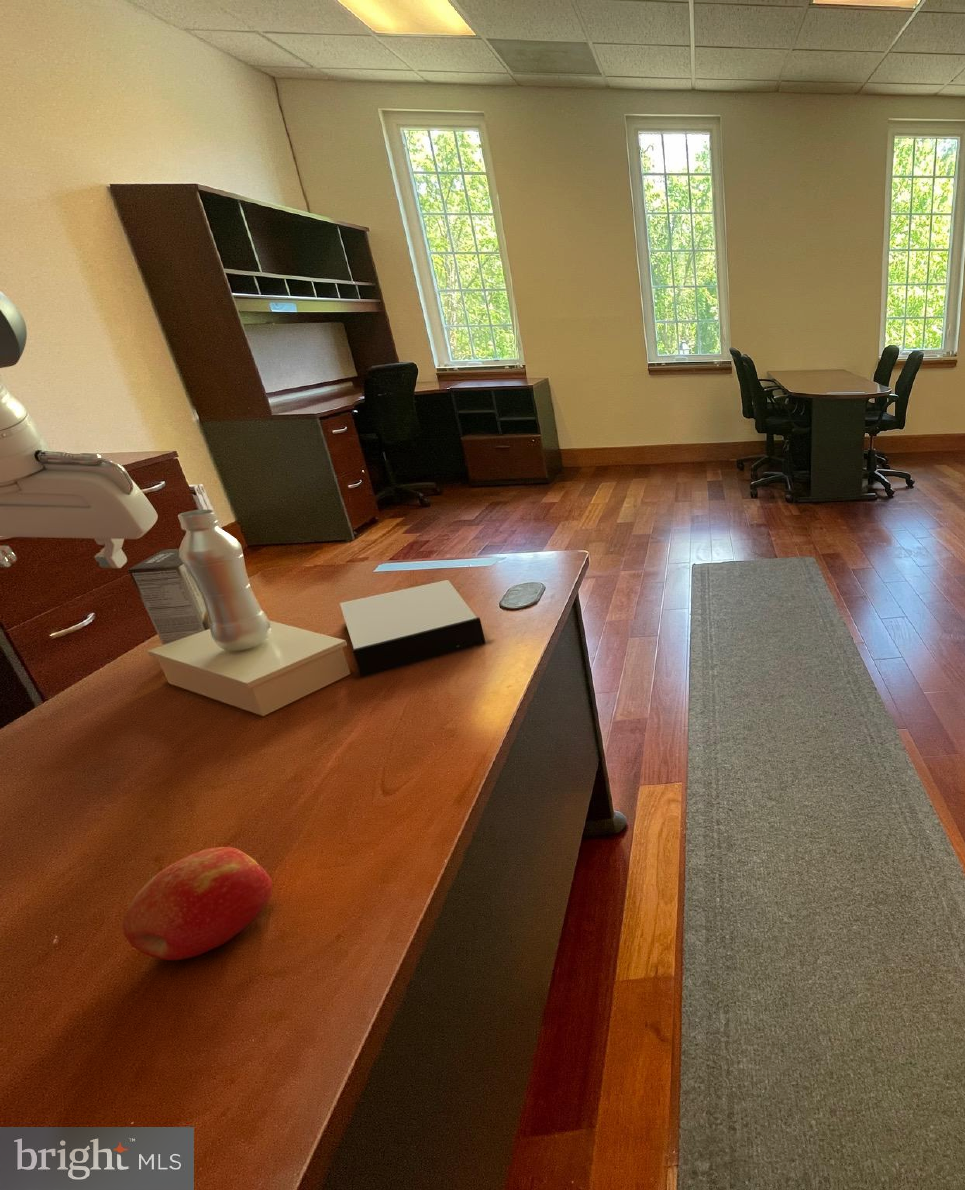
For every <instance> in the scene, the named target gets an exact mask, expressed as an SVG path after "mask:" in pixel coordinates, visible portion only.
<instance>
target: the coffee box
mask: <svg viewBox="0 0 965 1190" xmlns="http://www.w3.org/2000/svg"><path fill="white" fill-rule="evenodd" d="M127 571H128V573H129V576H130V577H131V579H132V582H133V584H134V586H135V588H136V590H137V592H138V595H139V597H140V600H141V602H142V603H143V605H144V608H145V609H146V611H147V615H148V616H149V618H150V620H151V623H152V625H153V627H154V630H155V631H156V633H157V635H158V638H159V640H160V642H161V645H165V644H168V643H171V642H174V641H176V640H179V639H182V638H185V637H188V636H191V635H194V634H196V633H199V632H202V631H205V630H208V629H210V623H209V622H210V621H209V618H208V614H207V610H206V607H205V603H204V600H203V598H202V596H201V592H200V591H199V590H198V588H197V586H196V584H195V582H194V580H193V578H192V577H191V575H190V574H189V572H188V570H187V569H186V567H185V566H184V563H183V562H182V561H181V559H180V557H179V548H171V549H169V548H168V549H163V550H161V551H158V552H157V553H155V554H153V555H152V556H150V557H147V558H146V559H144V560H142V561H140V562H139V563H137V564H135V565H134V566H131V567H130V568H128V569H127Z"/></svg>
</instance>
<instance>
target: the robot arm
mask: <svg viewBox="0 0 965 1190" xmlns="http://www.w3.org/2000/svg"><path fill="white" fill-rule="evenodd" d="M27 338H28V333H27V324H26V321H25V319H24V317H23V315H22V313H21V312H20V310H19V309H18V307H17V306H16V305H15V304H14V303H13V301H12V300H11V299H10V298H8V297H7V296H6V295H5V293H3V292H2V291H1V290H0V369H3V368H4V369H5V368H10V367H14V366H15V365H17V364H18V363H19V361H20V359H21V357H22V355H23V354H24V351H25V347H26V344H27ZM158 518H159V515H158V513H157V511H156V509H155V508H154V507H153V504H152V503H151V502H150V500H149V499H148V498H147V496H146V495H145V494H144V492H143V491H142V489H140V487H139V486H138V485H137V484H136V482H135V481H134V480H133V479H132V478H131V476H130V475H129V473H128V471H127V469H126V468H125V467H124V466H123V465H122V464H119V463H116V462H115V461H112V460H110V459H107V458H103V456H101V455H100V454H97V453H90V452H81V453H72V452H64V451H53V449H52V448H51V446H50V445H49V443H48V441H47V439H46V438H45V437H44V435H43V434H42V431H41V430H40V429H39V427H38V426H37V424H36V423H35V421H34V419H33V418H32V416H31V415H30V413H29V412H28V410H27V409H26V407H25V406H24V405H23V403H22V402H21V401H19V400H18V399H17V398H16V397H15V396H14V395H12V393H10V391H9V390H8V389H7V388H6V386H5V385H4V382H3V380H2V376H1V375H0V538H2V537H3V538H51V539H52V538H55V539H57V538H59V539H60V538H61V539H93V540H94V541H95V543H96V544H97V545H99V546H103V545H104V547H103V548H101V549H100V552H97V553H96V554H95V555H94V556H93V558H94V559H95V561H96V562H97V563H99V567H100V568H102V569H121V568H123V567H124V565H125V564H127V562H128V558H127V556H126V553H125V552H124V551H123V549H122V548H123V545H124V541H125V540H138V539H140V538H142V537H143V536H144V535H145V534H147V533H148V532H149V531H150V530H151V529H152V527H154V525H155V524H156V522H157V520H158ZM16 561H18V557H17V555H16V554H15V553H14V552H13V550H12V548H11V547H10V546H9V545H0V568H10V567H11V566H12V564H14V563H16Z"/></svg>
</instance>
